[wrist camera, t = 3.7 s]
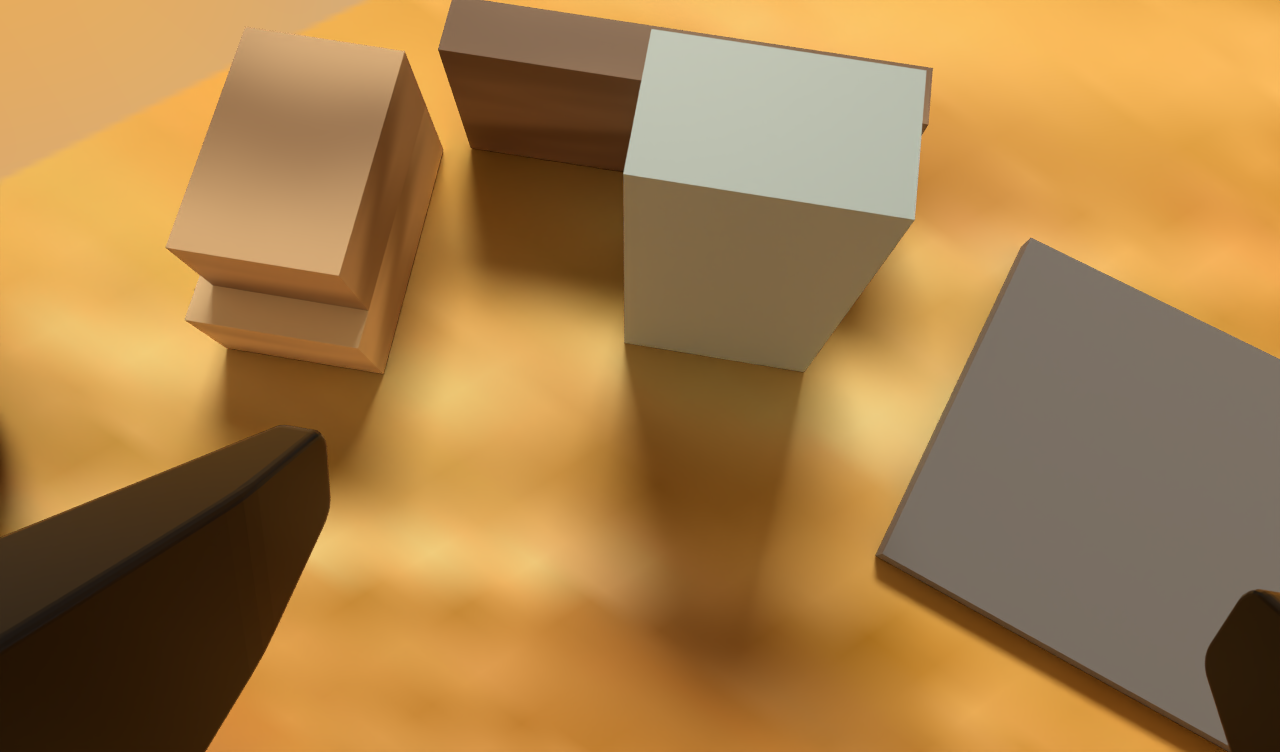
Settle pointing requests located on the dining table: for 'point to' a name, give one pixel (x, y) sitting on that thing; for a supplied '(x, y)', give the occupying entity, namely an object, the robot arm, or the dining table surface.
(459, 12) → the brown wooden block
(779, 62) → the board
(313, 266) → the offcut stack
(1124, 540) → the felt pad
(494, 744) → the dining table surface
